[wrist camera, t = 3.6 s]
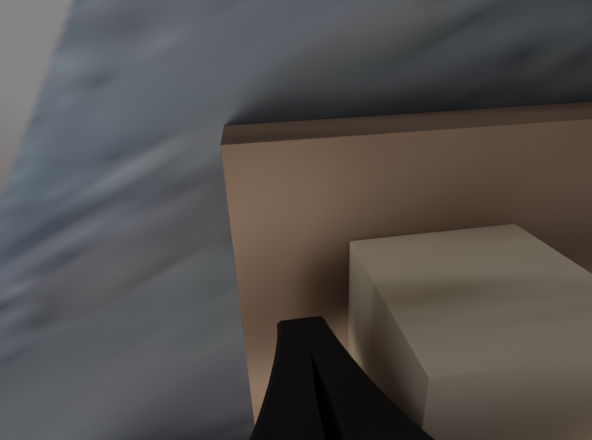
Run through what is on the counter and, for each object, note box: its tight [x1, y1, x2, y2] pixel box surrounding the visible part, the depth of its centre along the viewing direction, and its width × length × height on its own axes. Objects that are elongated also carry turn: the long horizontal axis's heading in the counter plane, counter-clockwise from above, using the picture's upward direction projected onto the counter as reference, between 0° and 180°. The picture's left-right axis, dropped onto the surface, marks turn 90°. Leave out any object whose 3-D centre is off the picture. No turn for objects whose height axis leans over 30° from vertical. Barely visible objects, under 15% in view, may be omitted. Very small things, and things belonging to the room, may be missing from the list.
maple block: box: [348, 224, 592, 440], centre depth 10 cm, size 5×5×5 cm
